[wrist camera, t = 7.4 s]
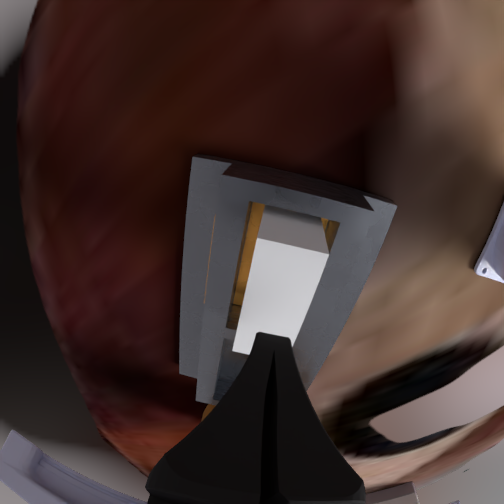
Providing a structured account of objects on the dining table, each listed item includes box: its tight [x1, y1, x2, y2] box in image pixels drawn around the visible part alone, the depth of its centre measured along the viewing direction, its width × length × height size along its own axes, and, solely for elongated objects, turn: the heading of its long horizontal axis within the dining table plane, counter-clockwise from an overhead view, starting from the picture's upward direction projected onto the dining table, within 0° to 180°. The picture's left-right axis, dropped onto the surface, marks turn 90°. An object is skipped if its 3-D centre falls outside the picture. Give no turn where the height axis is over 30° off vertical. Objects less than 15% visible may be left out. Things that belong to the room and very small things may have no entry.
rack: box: [179, 154, 397, 406], centre depth 20 cm, size 12×20×4 cm, turn 169°
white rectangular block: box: [232, 205, 329, 355], centre depth 15 cm, size 3×7×5 cm, turn 169°
